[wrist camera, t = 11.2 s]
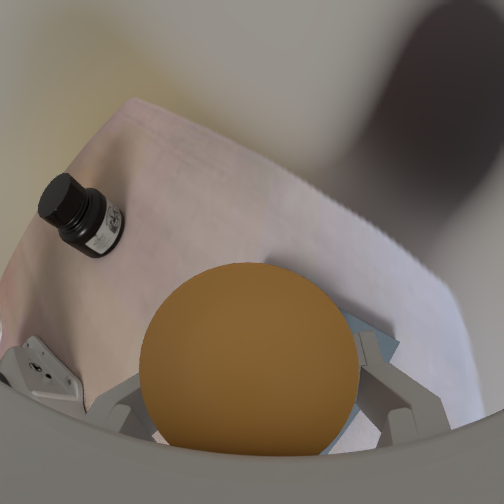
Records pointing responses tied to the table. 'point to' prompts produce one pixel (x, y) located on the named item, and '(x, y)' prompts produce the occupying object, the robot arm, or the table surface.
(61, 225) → the ink bottle
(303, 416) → the knob
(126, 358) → the table surface
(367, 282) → the table surface
